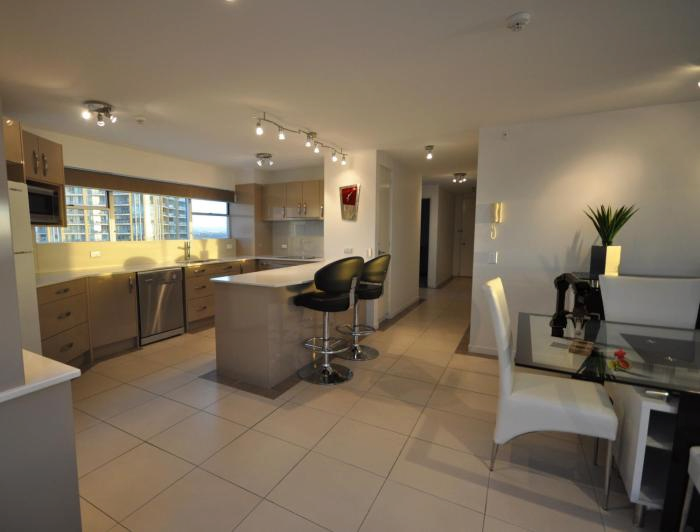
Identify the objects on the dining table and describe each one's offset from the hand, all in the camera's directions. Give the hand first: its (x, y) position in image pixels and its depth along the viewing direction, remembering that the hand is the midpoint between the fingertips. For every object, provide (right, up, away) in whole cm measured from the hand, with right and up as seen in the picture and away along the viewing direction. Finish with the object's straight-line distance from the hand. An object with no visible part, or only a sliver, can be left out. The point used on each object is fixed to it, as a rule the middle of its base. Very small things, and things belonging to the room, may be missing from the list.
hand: (578, 329), depth 194 cm
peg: (0, -3, 0) cm, 3 cm away
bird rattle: (+4, -16, -25) cm, 30 cm away
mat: (-4, -12, +11) cm, 17 cm away
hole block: (+4, -13, +4) cm, 14 cm away
